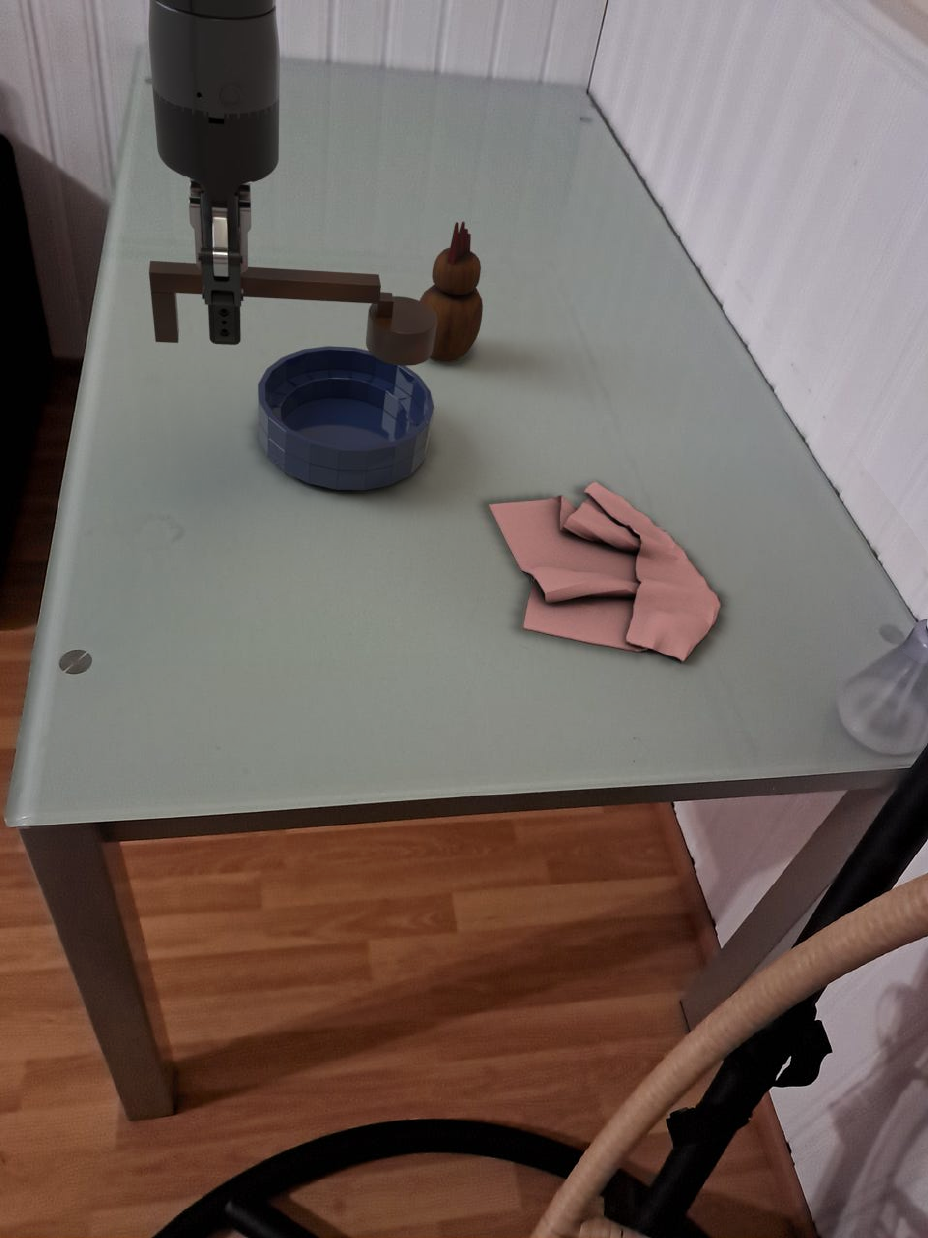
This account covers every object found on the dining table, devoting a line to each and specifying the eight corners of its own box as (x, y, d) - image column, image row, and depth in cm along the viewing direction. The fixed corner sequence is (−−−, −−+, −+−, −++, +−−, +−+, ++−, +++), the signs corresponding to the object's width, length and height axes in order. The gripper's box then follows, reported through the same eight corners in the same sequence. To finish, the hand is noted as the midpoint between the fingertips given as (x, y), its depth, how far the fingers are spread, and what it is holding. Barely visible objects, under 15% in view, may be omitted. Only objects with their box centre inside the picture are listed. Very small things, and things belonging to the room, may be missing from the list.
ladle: (154, 356, 68) (147, 285, 64) (157, 316, 71) (151, 247, 67) (437, 367, 73) (447, 302, 68) (427, 329, 76) (436, 265, 72)
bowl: (293, 510, 82) (295, 464, 78) (235, 403, 90) (234, 358, 86) (454, 477, 88) (462, 433, 84) (385, 380, 96) (390, 337, 93)
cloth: (710, 687, 76) (721, 668, 74) (448, 605, 77) (452, 584, 75) (729, 527, 89) (738, 508, 88) (506, 460, 91) (511, 440, 89)
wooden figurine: (437, 375, 99) (459, 236, 88) (402, 347, 101) (419, 209, 90) (484, 358, 102) (511, 222, 91) (449, 331, 105) (472, 196, 94)
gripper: (156, 33, 61) (175, 281, 74) (145, 123, 52) (168, 387, 65) (275, 47, 63) (274, 287, 76) (283, 136, 54) (280, 390, 67)
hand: (225, 332), depth 70 cm, fingers closed on ladle, 1 cm apart
